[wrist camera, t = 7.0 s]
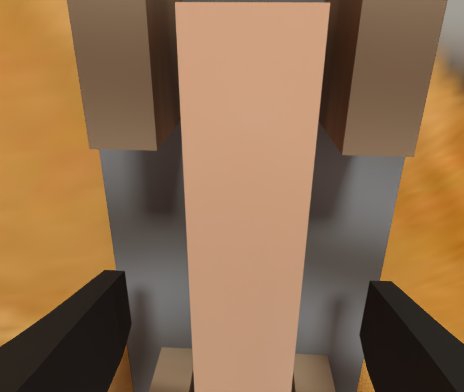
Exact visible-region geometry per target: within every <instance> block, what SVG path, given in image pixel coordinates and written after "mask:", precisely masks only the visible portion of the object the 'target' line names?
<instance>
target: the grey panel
mask: <svg viewBox="0 0 464 392" xmlns="http://www.w3.org/2000/svg"><path fill="white" fill-rule="evenodd" d="M175 2H324V3H330V11H329V21H328V31H327V41H326V51H325V61H324V71H323V81H322V91H321V101H320V110H319V120H318V130H317V140H316V150H315V160H314V170H313V180H312V190H311V200H310V210H309V220H308V230H307V240H306V250H305V260H304V269H303V279H302V289H301V299H300V309H299V319H298V329H297V339H296V349H295V359H294V369H293V379H292V389H291V392H357V388H358V383H359V378H360V373H361V369H362V364H363V359H364V354H363V350H362V345H361V340H360V336H359V334H360V328H361V323H362V318H363V313H364V308H365V302H366V297H367V292H368V287H369V282H370V281H380V276H381V271H382V267H383V262H384V257H385V252H386V247H387V242H388V237H389V233H390V228H391V223H392V218H393V213H394V208H395V203H396V199H397V194H398V189H399V184H400V179H401V174H402V169H403V165H404V160H405V157H414V153H415V149H416V144H417V139H418V135H419V130H420V125H421V121H422V116H423V112H424V107H425V102H426V98H427V93H428V88H429V84H430V79H431V75H432V70H433V65H434V61H435V56H436V51H437V47H438V42H439V37H440V33H441V28H442V24H443V19H444V14H445V10H446V5H447V0H67V4H68V10H69V17H70V23H71V30H72V36H73V43H74V50H75V56H76V63H77V69H78V76H79V82H80V89H81V95H82V102H83V108H84V115H85V121H86V128H87V135H88V141H89V148H90V149H99V152H100V159H101V166H102V173H103V180H104V187H105V194H106V201H107V208H108V215H109V222H110V229H111V236H112V243H113V250H114V257H115V264H116V271H125V276H126V284H127V291H128V299H129V306H130V314H131V322H132V325H131V329H130V332H129V336H128V340H127V348H128V355H129V362H130V369H131V376H132V383H133V390H134V392H194V372H193V352H192V332H191V313H190V293H189V273H188V253H187V233H186V213H185V193H184V173H183V154H182V134H181V114H180V94H179V74H178V54H177V34H176V15H175Z"/></svg>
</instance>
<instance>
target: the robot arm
mask: <svg viewBox="0 0 464 392" xmlns="http://www.w3.org/2000/svg"><path fill="white" fill-rule="evenodd" d="M131 325H132V322H131V314H130V306H129V299H128V291H127V284H126V276H125V271H115V270H104V271H103V272H102V273H100V274H99V275H98V276H96V277H95V278H94V279H92V280H91V281H90V282H89V283H87V284H86V285H85V286H84V287H82V288H81V289H80V290H79V291H77V292H76V293H75V294H73V295H72V296H71V297H70V298H68V299H67V300H66V301H64V302H63V303H62V304H61V305H59V306H58V307H57V308H55V309H54V310H53V311H51V312H50V313H49V314H47V315H46V316H44V317H43V318H42V319H40V320H39V321H37V322H36V323H35V324H33V325H32V326H30V327H29V328H28V329H26V330H25V331H23V332H22V333H20V334H19V335H18V336H16V337H15V338H13V339H12V340H10V341H9V342H7V343H5V344H4V345H2V346H1V347H0V392H107V391H108V389H109V387H110V384H111V382H112V380H113V377H114V375H115V373H116V370H117V368H118V366H119V363H120V361H121V359H122V356H123V353H124V350H125V346H126V343H127V340H128V336H129V332H130V329H131ZM359 336H360V340H361V345H362V350H363V354H364V358H365V362H366V367H367V370H368V373H369V376H370V379H371V381H372V384H373V387H374V390H375V392H464V344H463V343H462V342H461V341H459V340H458V339H457V338H456V337H454V336H453V335H452V334H451V333H450V332H448V331H447V330H446V329H445V328H444V327H443V326H441V325H440V324H439V323H438V322H437V321H436V320H434V319H433V318H432V317H431V316H430V315H429V314H428V313H427V312H425V311H424V310H423V309H422V308H421V307H420V306H419V305H418V304H416V303H415V302H414V301H413V300H412V299H411V298H410V297H409V296H408V295H406V294H405V293H404V292H403V291H402V290H401V289H400V288H399V287H397V286H396V285H395V284H394V283H393V282H391V281H370V282H369V287H368V292H367V297H366V302H365V308H364V313H363V318H362V323H361V328H360V334H359Z"/></svg>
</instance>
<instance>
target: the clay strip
mask: <svg viewBox="0 0 464 392" xmlns="http://www.w3.org/2000/svg"><path fill="white" fill-rule="evenodd" d="M329 11H330V3H324V2H175V15H176V34H177V54H178V74H179V94H180V114H181V134H182V154H183V173H184V193H185V213H186V233H187V253H188V273H189V293H190V313H191V332H192V352H193V372H194V392H291V389H292V379H293V369H294V359H295V349H296V339H297V329H298V319H299V309H300V299H301V289H302V279H303V269H304V260H305V250H306V240H307V230H308V220H309V210H310V200H311V190H312V180H313V170H314V160H315V150H316V140H317V130H318V120H319V110H320V101H321V91H322V81H323V71H324V61H325V51H326V41H327V31H328V21H329Z"/></svg>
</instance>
